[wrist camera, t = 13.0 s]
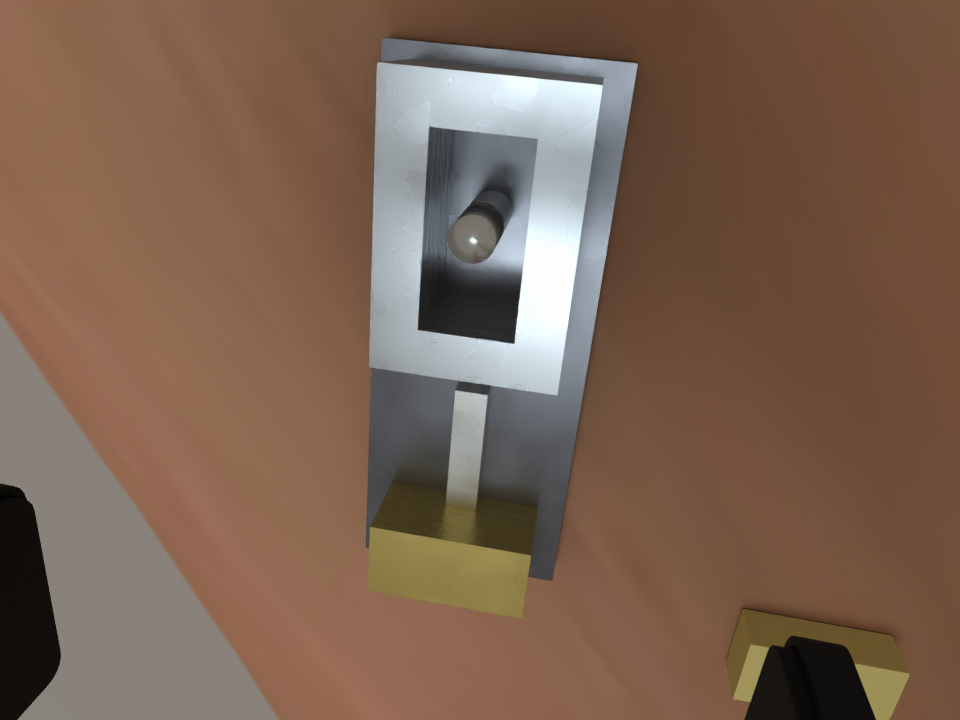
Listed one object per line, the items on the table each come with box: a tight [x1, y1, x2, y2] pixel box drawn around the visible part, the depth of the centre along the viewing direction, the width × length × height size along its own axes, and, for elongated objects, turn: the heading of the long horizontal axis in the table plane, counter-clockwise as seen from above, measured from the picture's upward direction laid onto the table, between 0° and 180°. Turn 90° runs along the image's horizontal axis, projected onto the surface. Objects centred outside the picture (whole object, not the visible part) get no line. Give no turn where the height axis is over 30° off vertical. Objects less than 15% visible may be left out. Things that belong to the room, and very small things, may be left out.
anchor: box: [726, 609, 910, 720], centre depth 30 cm, size 6×3×3 cm, turn 85°
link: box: [369, 59, 604, 395], centre depth 23 cm, size 6×9×4 cm, turn 175°
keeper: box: [366, 38, 638, 619], centre depth 25 cm, size 8×20×5 cm, turn 175°
